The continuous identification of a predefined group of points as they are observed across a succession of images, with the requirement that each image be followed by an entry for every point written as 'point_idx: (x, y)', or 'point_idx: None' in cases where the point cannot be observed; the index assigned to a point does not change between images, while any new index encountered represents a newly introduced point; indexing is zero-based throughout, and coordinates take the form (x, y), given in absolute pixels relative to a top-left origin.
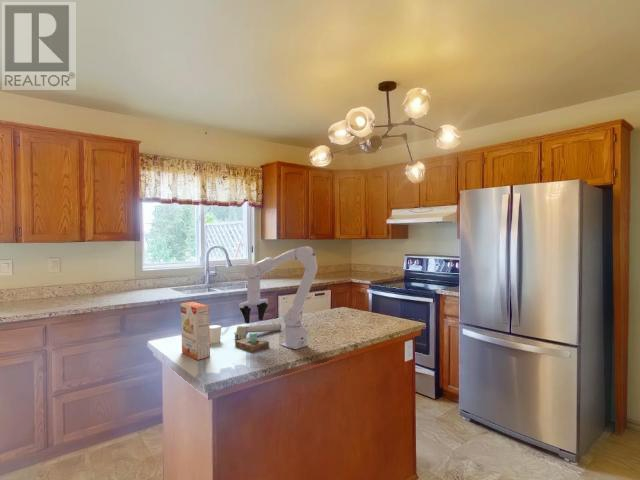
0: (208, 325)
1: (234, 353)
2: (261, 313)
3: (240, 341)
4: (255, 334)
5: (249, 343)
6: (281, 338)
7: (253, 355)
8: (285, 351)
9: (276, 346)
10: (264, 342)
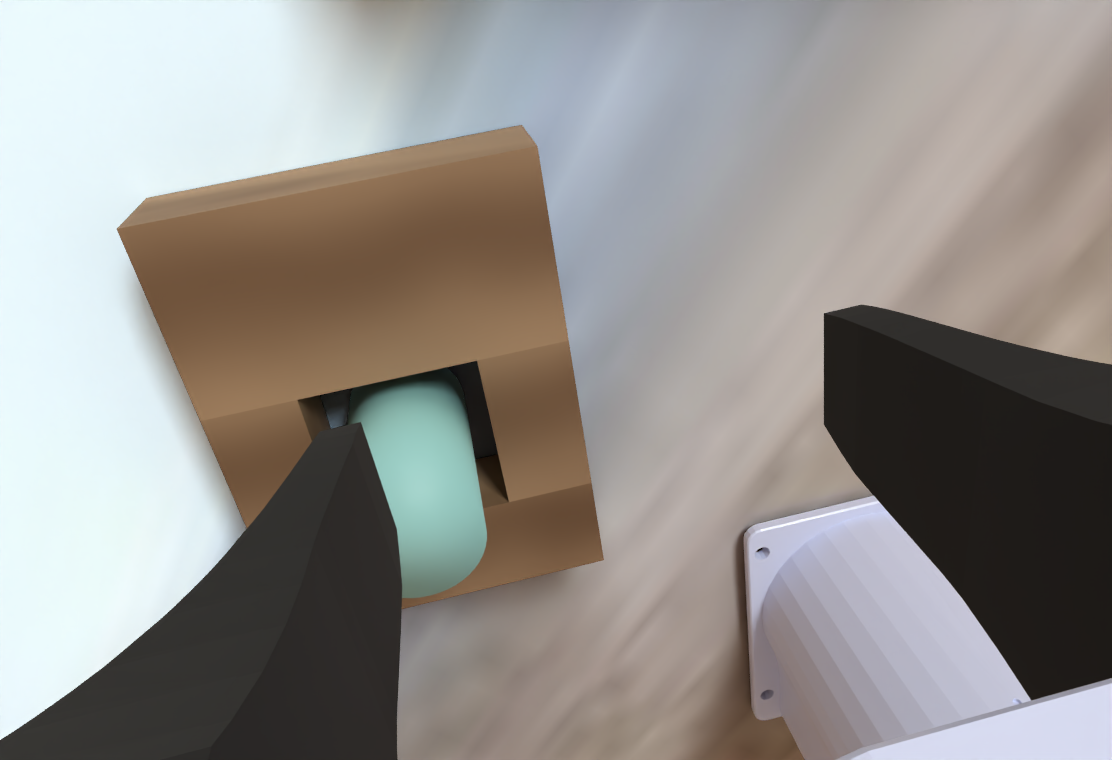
0: None
1: (48, 508)
2: (949, 522)
3: (210, 318)
4: (429, 594)
5: None
6: (977, 248)
7: None
8: (643, 706)
9: (679, 527)
10: (535, 561)
